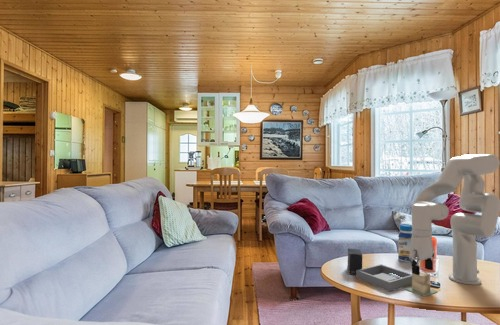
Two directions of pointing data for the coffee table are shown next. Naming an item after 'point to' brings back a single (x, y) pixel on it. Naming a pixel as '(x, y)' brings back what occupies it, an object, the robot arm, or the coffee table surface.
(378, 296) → the coffee table surface
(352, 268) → the small box
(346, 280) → the coffee table surface
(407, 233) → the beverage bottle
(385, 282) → the gray square tray
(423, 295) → the mat
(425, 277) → the birch block
